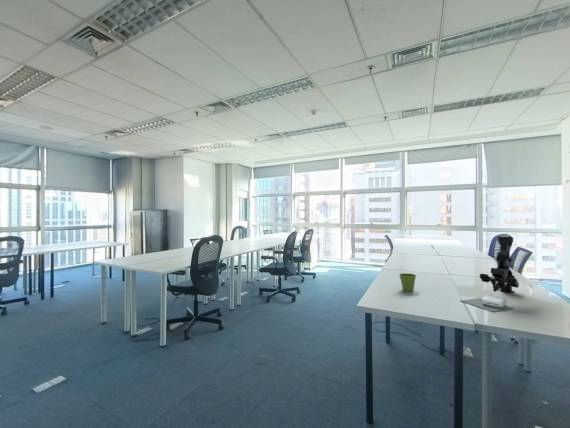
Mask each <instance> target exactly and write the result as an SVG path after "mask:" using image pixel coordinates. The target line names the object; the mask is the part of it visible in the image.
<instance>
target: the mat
mask: <svg viewBox="0 0 570 428" xmlns="http://www.w3.org/2000/svg"><path fill="white" fill-rule="evenodd" d="M460 302H461V303H465V304H468V305H470V306H474V307H477V308H479V309H482V310H485V311H489V312H492V313H495V312H496V313H497V312H503V311H508V310H514V309H515V308H513V307H512V306H507V305H504V306H503V307H502V308H498V307H492V306H488V305H485V304H483V303H482V298H480V297H478V298H470V299H469V298H468V299H462V300H460Z"/></svg>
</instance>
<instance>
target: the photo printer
mask: <svg viewBox="0 0 570 428" xmlns="http://www.w3.org/2000/svg"><path fill="white" fill-rule="evenodd" d="M481 299H482V303H483V304H485V305H488V306H492V307H498V308H502V307H503V306H506V304H507V303H508V300H507V298H506V297H504V296H499V295H498V296H497V295H494V294H486V295H485V296H483V297H482V298H481Z"/></svg>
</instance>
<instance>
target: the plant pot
mask: <svg viewBox="0 0 570 428" xmlns="http://www.w3.org/2000/svg"><path fill="white" fill-rule="evenodd" d="M398 276H399V278H400V281H401V287H402V290H403V291H404V292H413V291H414V289H415V282H416V278H417V274H414V273H406V272H405V273H404V272H403V273H398Z"/></svg>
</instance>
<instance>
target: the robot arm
mask: <svg viewBox="0 0 570 428" xmlns="http://www.w3.org/2000/svg"><path fill="white" fill-rule="evenodd" d="M497 242H498V244H499V251H498V252H497V253H496V254H497V255H495V258H494V261H495V262H496V265H497V266H496V267H491V268H490V274H491V276H490V275H489V274H488V273H479V279H480V280H481V282H483V283H491V285H492V288H493V289H492V291H493V292H495V293H496V292H497V291H500V292H504V293H507V294H508V293H515V291H514V290H513V288H518V289H519V286H520V283H519V280H518V279H517V278H516V277H515V275H514V274H513V271H512V270H511V269H510V268H511V267H510V264H511V263H512V262H513V258H512V257H511V256H510V254H511V253H510V248H511V247H512V246H513V243H514V237H513V236H512V235H499V236H497Z"/></svg>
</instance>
